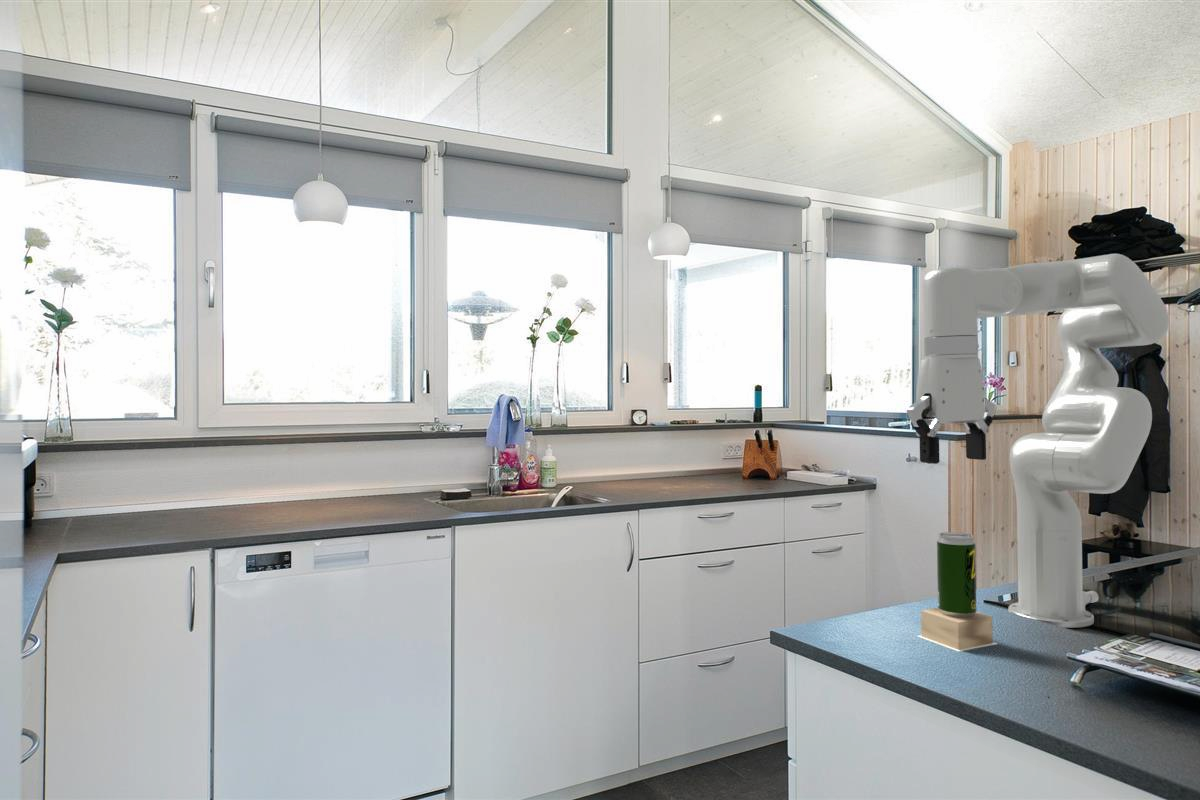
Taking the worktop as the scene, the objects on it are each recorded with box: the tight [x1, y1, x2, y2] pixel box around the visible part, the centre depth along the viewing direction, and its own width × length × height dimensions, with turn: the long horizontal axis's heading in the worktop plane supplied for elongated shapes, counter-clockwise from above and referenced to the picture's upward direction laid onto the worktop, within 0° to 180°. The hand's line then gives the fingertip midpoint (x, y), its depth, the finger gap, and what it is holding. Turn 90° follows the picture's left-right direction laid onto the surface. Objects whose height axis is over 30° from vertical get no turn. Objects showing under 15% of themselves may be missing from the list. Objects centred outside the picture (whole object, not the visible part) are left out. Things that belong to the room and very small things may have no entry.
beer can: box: [936, 531, 977, 618], centre depth 117 cm, size 5×5×12 cm
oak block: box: [920, 607, 994, 650], centre depth 117 cm, size 7×7×4 cm
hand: (953, 460), depth 117 cm, fingers open, 9 cm apart
